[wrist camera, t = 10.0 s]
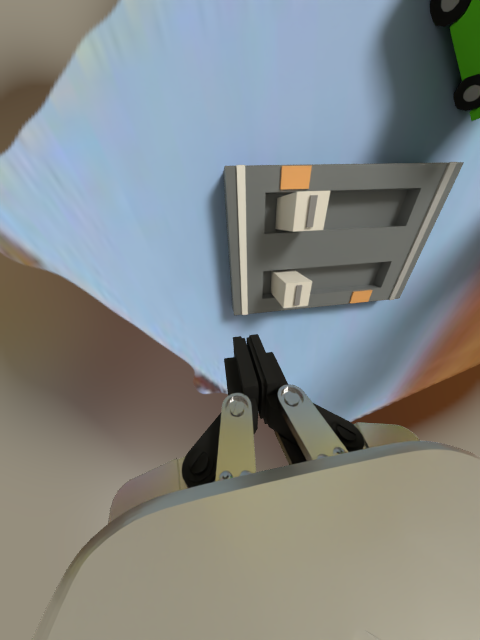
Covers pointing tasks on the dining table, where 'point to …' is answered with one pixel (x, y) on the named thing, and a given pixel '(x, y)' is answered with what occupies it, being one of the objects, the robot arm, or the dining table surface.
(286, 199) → the tab
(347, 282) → the switch board
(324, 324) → the dining table surface
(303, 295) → the tab
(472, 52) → the toy car
